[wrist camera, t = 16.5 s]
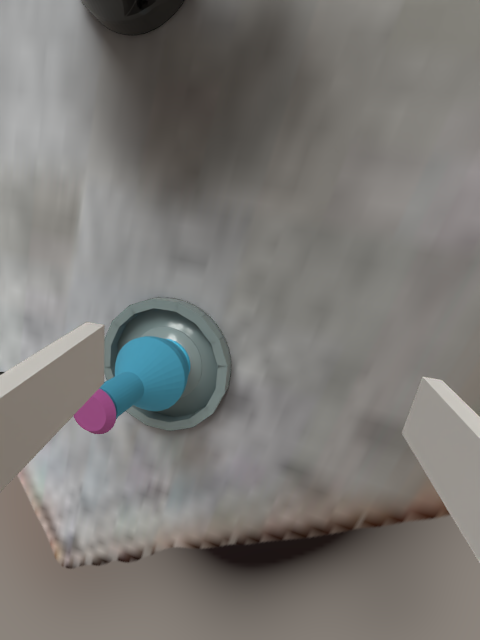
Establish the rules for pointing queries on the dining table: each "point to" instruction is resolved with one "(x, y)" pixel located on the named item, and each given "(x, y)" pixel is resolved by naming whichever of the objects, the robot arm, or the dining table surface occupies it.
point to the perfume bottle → (138, 382)
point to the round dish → (198, 341)
